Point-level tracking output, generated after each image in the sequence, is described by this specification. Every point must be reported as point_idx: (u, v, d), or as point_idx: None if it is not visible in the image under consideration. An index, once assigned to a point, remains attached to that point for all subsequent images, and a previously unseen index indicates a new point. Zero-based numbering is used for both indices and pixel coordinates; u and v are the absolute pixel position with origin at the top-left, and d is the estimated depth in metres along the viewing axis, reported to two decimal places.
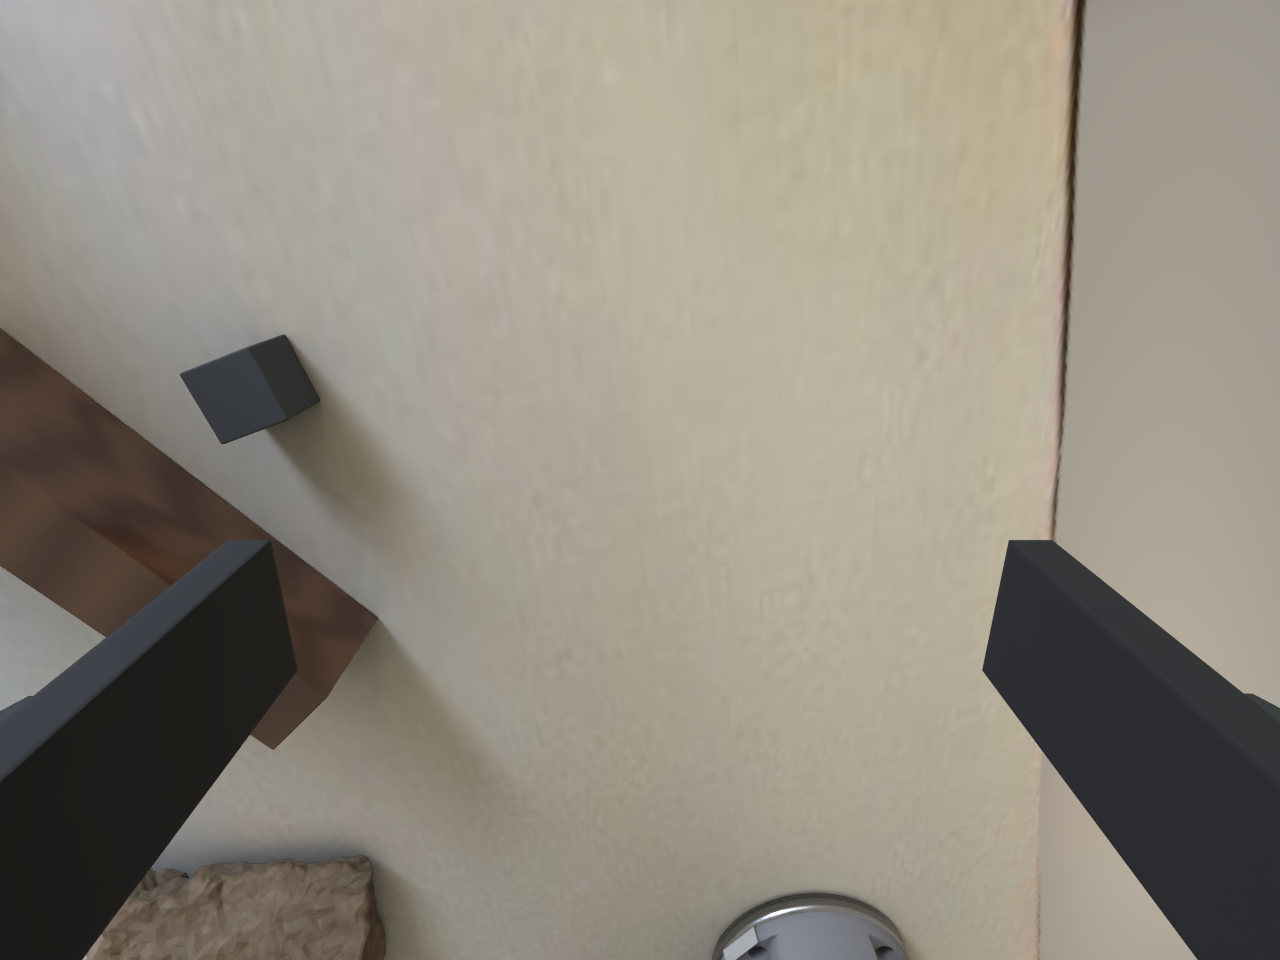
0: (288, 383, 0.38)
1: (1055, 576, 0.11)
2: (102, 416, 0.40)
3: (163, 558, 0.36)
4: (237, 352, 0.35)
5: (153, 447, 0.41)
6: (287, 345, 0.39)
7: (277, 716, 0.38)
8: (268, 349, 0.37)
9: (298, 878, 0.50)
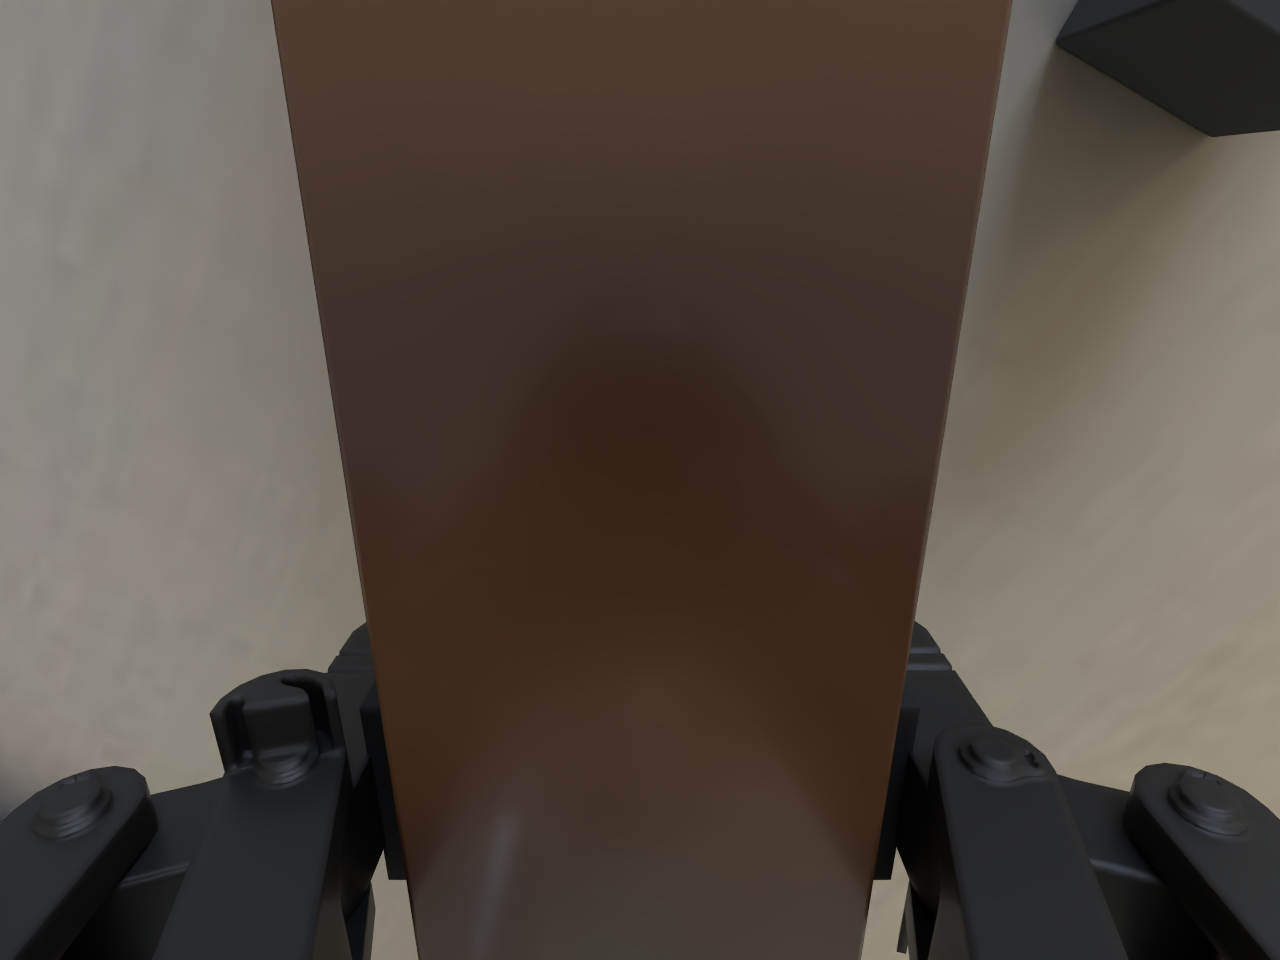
0: None
1: None
2: None
3: None
4: None
5: None
6: None
7: None
8: None
9: None
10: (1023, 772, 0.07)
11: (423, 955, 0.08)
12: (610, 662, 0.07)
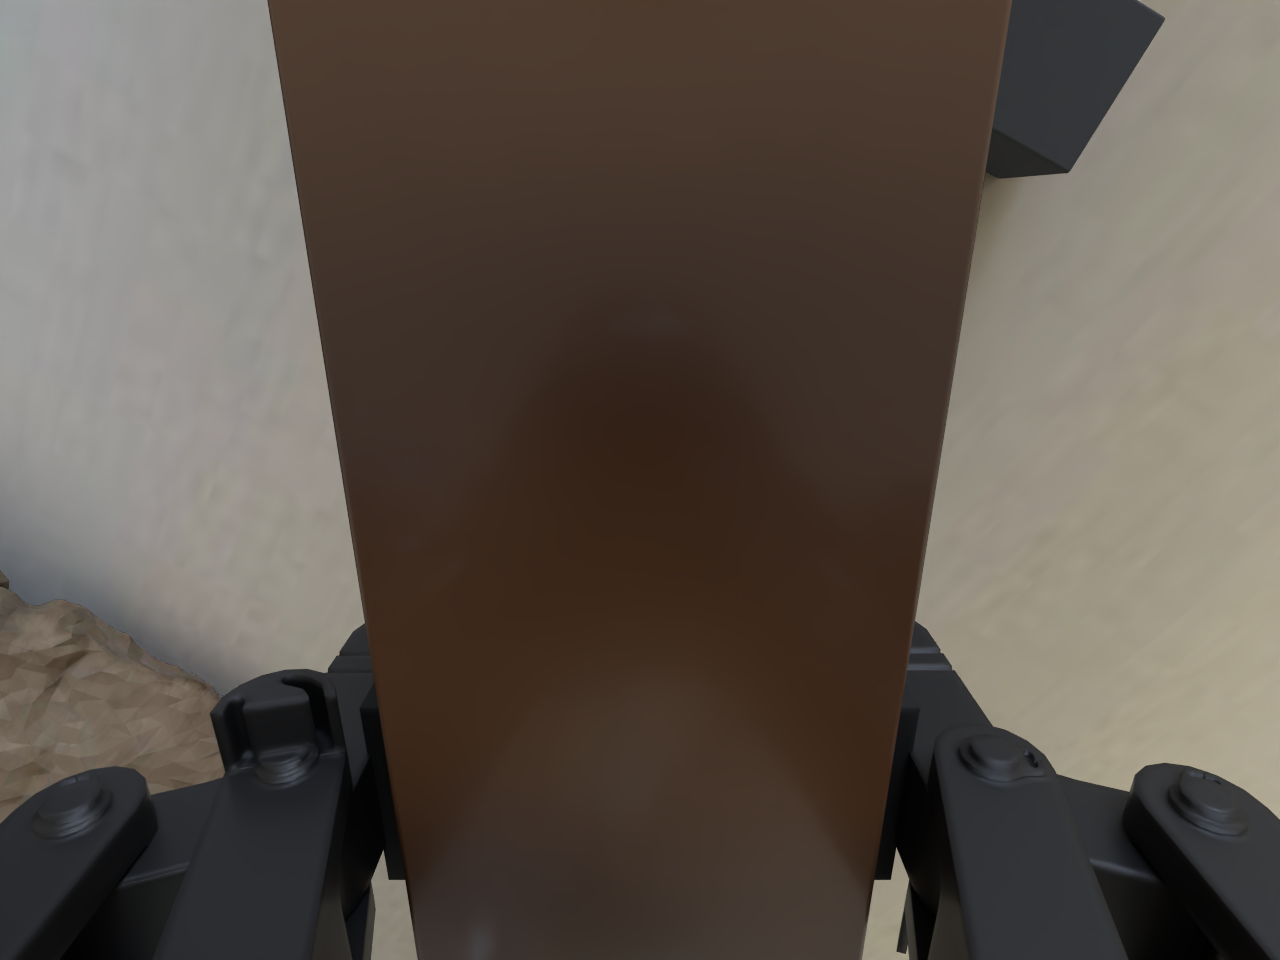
0: None
1: None
2: None
3: None
4: (1145, 7, 0.18)
5: None
6: None
7: None
8: None
9: (212, 728, 0.28)
10: (1023, 773, 0.07)
11: (422, 956, 0.08)
12: (610, 661, 0.07)
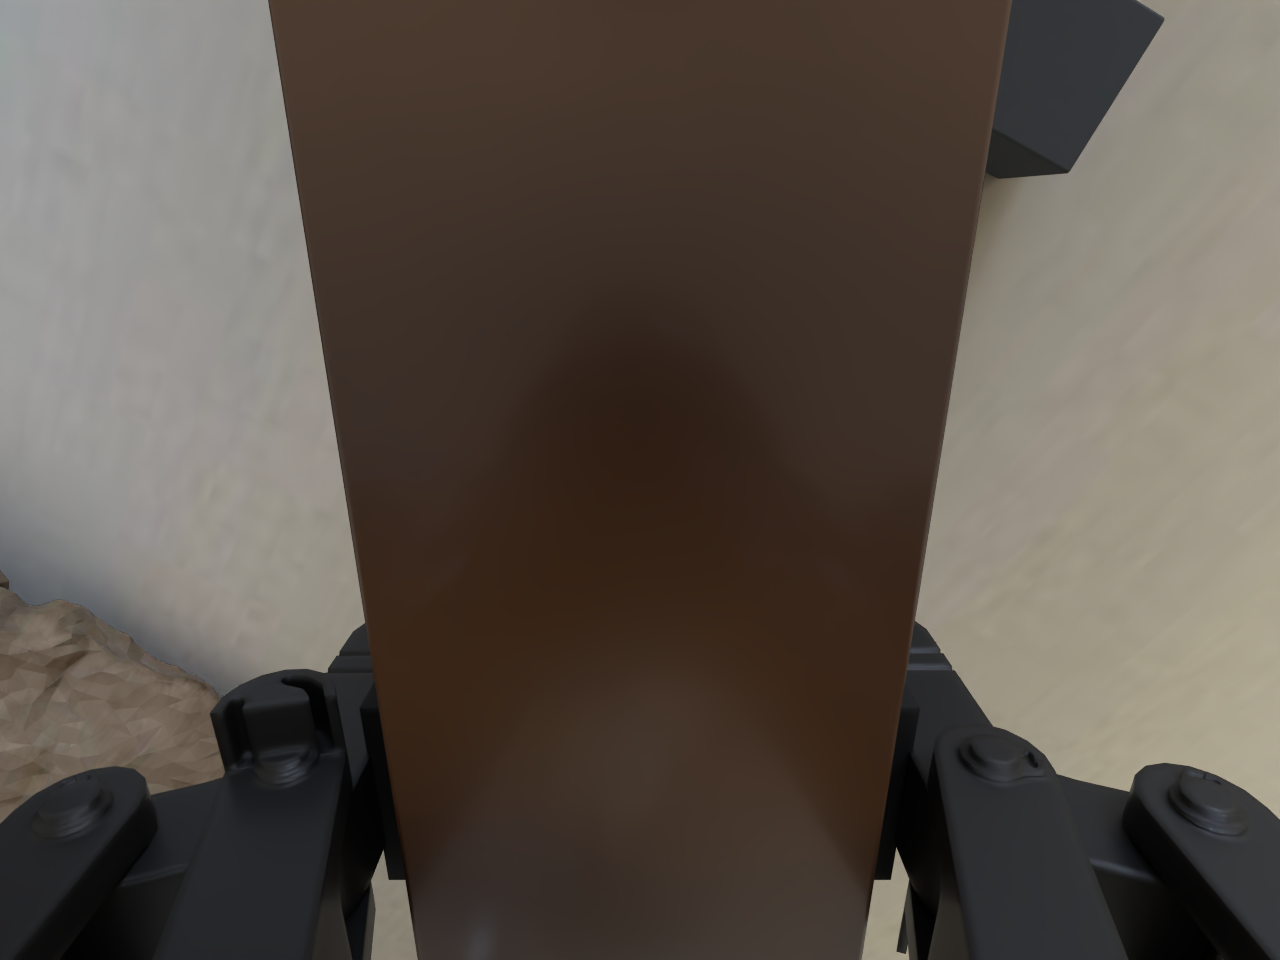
0: None
1: None
2: None
3: None
4: (1144, 8, 0.18)
5: None
6: None
7: None
8: None
9: (212, 728, 0.28)
10: (1024, 773, 0.07)
11: (423, 956, 0.08)
12: (610, 661, 0.07)
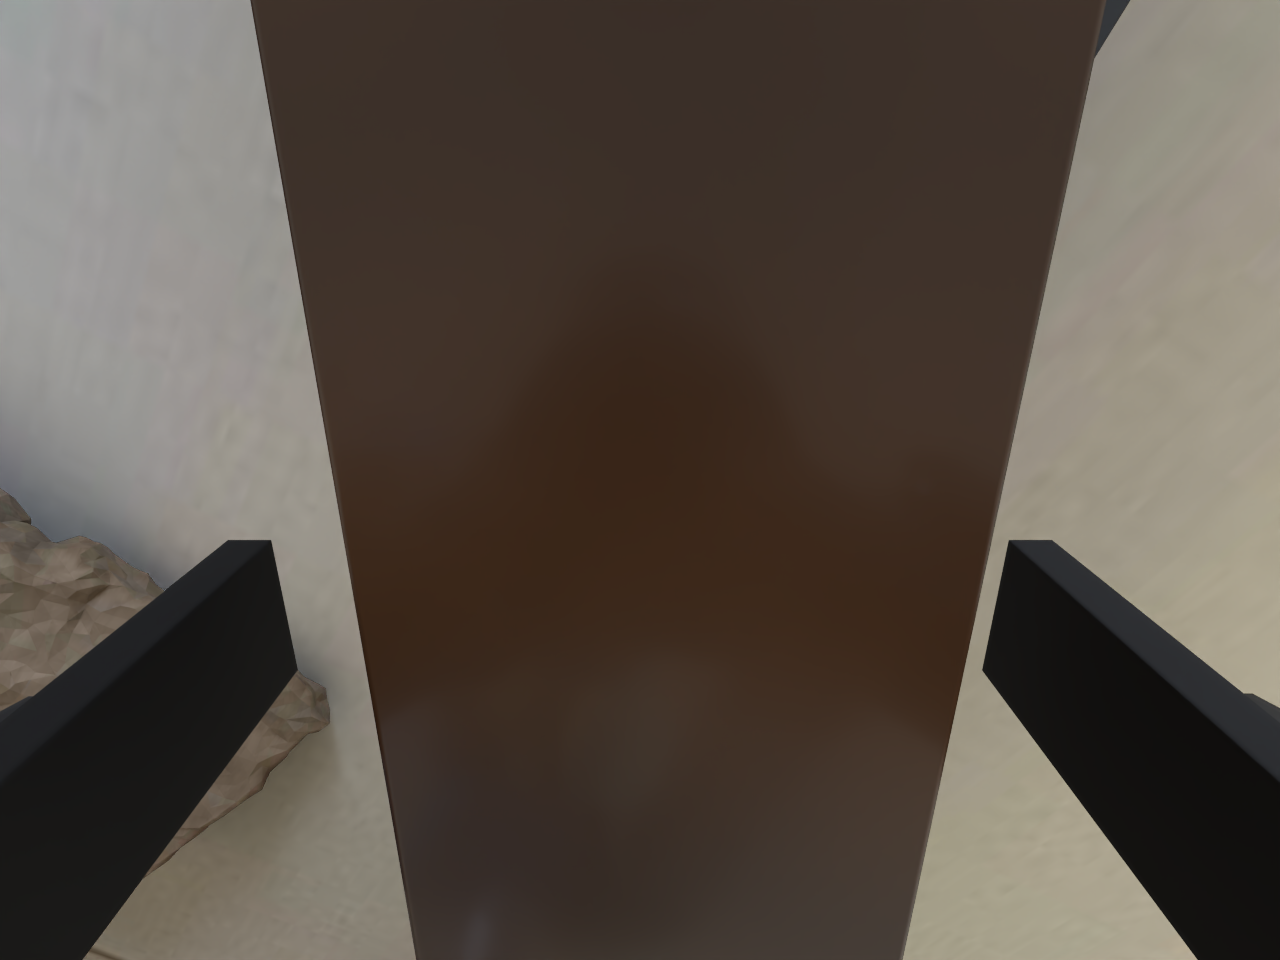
0: None
1: (1055, 576, 0.11)
2: None
3: None
4: None
5: None
6: None
7: None
8: None
9: None
10: None
11: (408, 877, 0.07)
12: (629, 512, 0.05)
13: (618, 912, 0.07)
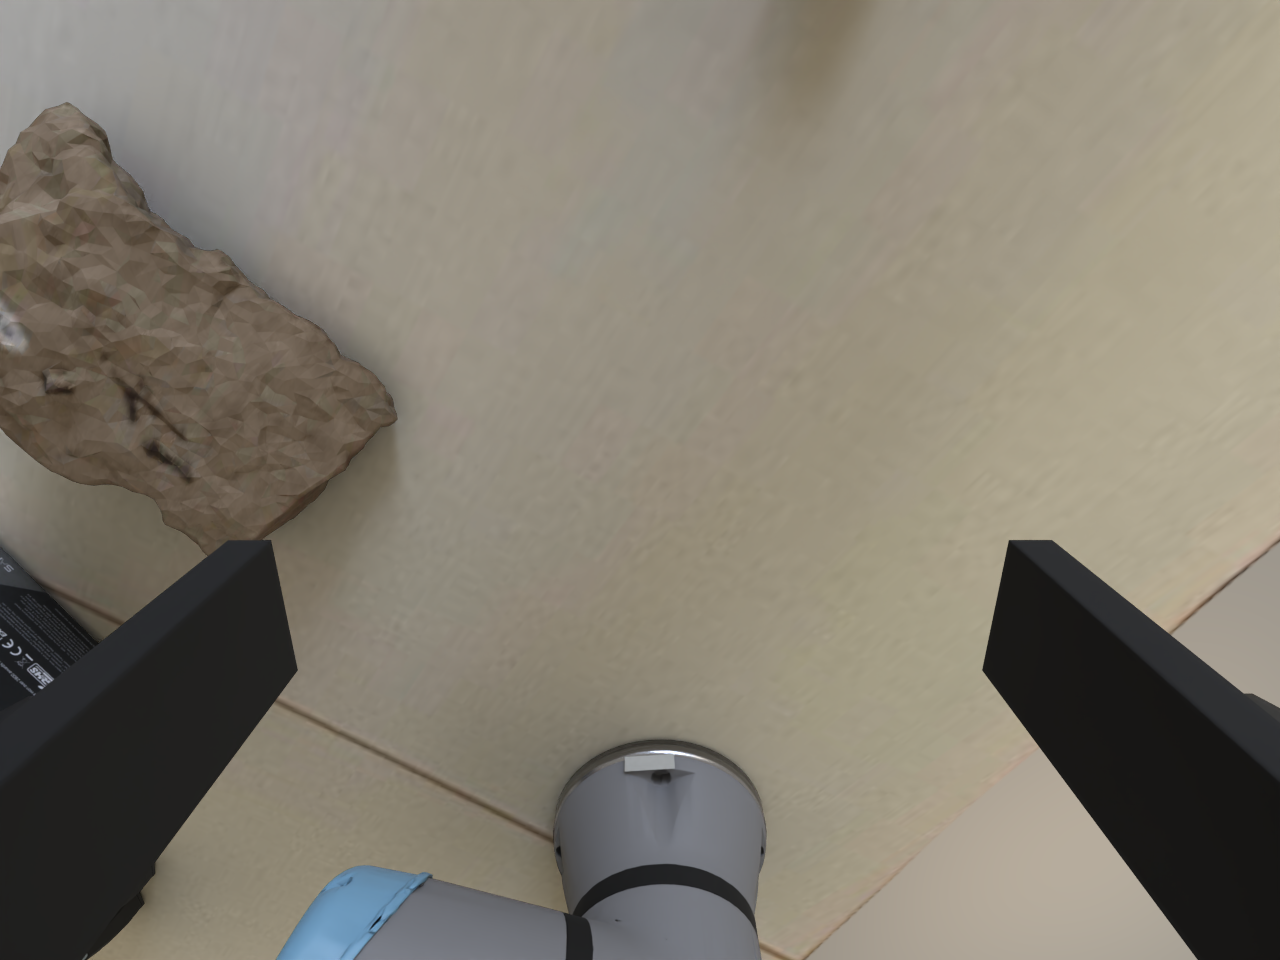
0: None
1: (1056, 576, 0.11)
2: None
3: None
4: None
5: None
6: None
7: None
8: None
9: (325, 356, 0.38)
10: None
11: None
12: None
13: None
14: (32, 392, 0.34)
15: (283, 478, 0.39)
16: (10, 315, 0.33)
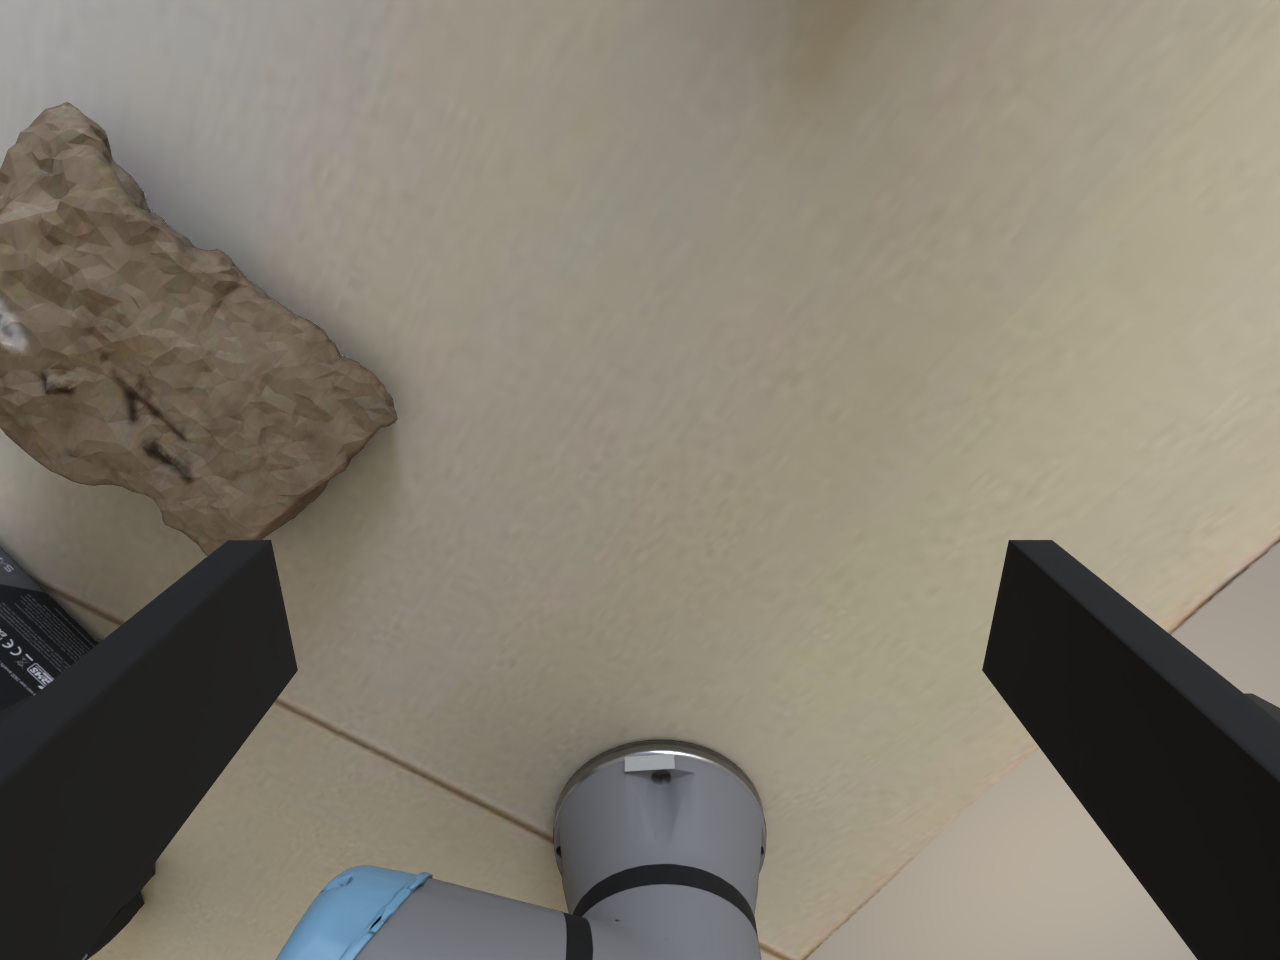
0: None
1: (1055, 576, 0.11)
2: None
3: None
4: None
5: None
6: None
7: None
8: None
9: (325, 356, 0.38)
10: None
11: None
12: None
13: None
14: (32, 392, 0.34)
15: (283, 478, 0.39)
16: (10, 315, 0.33)
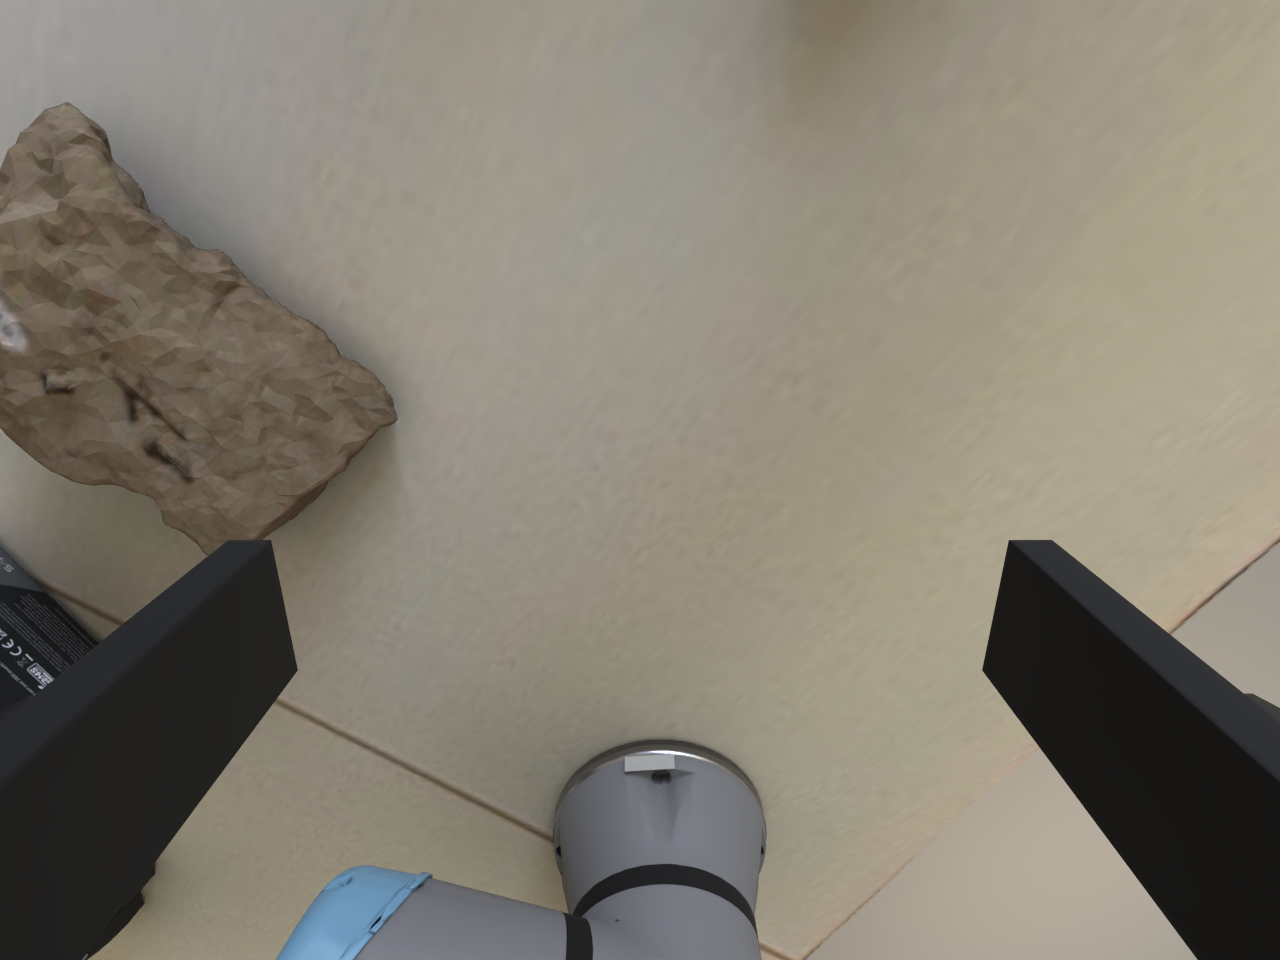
0: None
1: (1055, 576, 0.11)
2: None
3: None
4: None
5: None
6: None
7: None
8: None
9: (325, 356, 0.38)
10: None
11: None
12: None
13: None
14: (32, 392, 0.34)
15: (283, 478, 0.39)
16: (10, 315, 0.33)
